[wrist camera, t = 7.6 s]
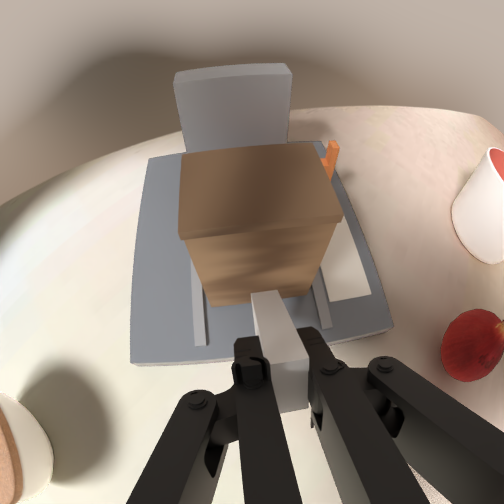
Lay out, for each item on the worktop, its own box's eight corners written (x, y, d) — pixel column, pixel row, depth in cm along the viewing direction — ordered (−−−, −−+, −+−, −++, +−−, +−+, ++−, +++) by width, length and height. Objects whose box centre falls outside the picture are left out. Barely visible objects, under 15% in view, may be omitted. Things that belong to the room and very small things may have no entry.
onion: (475, 363, 18) (534, 339, 11) (439, 399, 16) (504, 386, 10) (452, 315, 20) (505, 277, 13) (413, 346, 19) (472, 315, 12)
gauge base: (138, 366, 19) (43, 322, 9) (152, 168, 30) (125, 83, 20) (385, 331, 20) (474, 265, 10) (318, 151, 31) (334, 65, 21)
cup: (504, 279, 22) (555, 234, 13) (448, 251, 24) (500, 191, 15) (496, 219, 26) (532, 172, 18) (444, 190, 29) (478, 133, 20)
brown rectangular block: (210, 308, 19) (177, 232, 11) (206, 247, 22) (181, 154, 14) (308, 296, 20) (343, 214, 12) (294, 237, 23) (312, 142, 14)
